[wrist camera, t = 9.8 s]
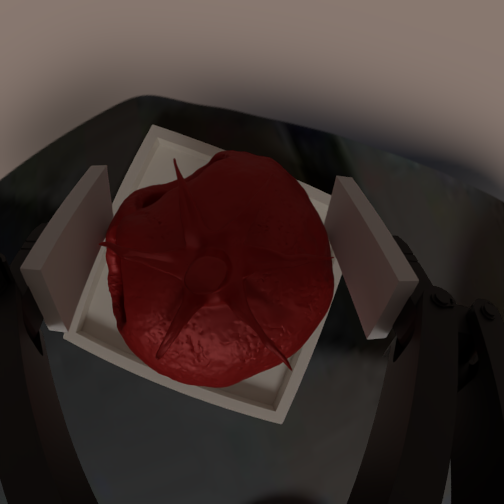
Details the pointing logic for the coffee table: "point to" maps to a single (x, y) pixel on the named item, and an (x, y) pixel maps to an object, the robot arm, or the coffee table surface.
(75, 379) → the coffee table surface
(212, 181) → the pomegranate
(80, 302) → the tray
